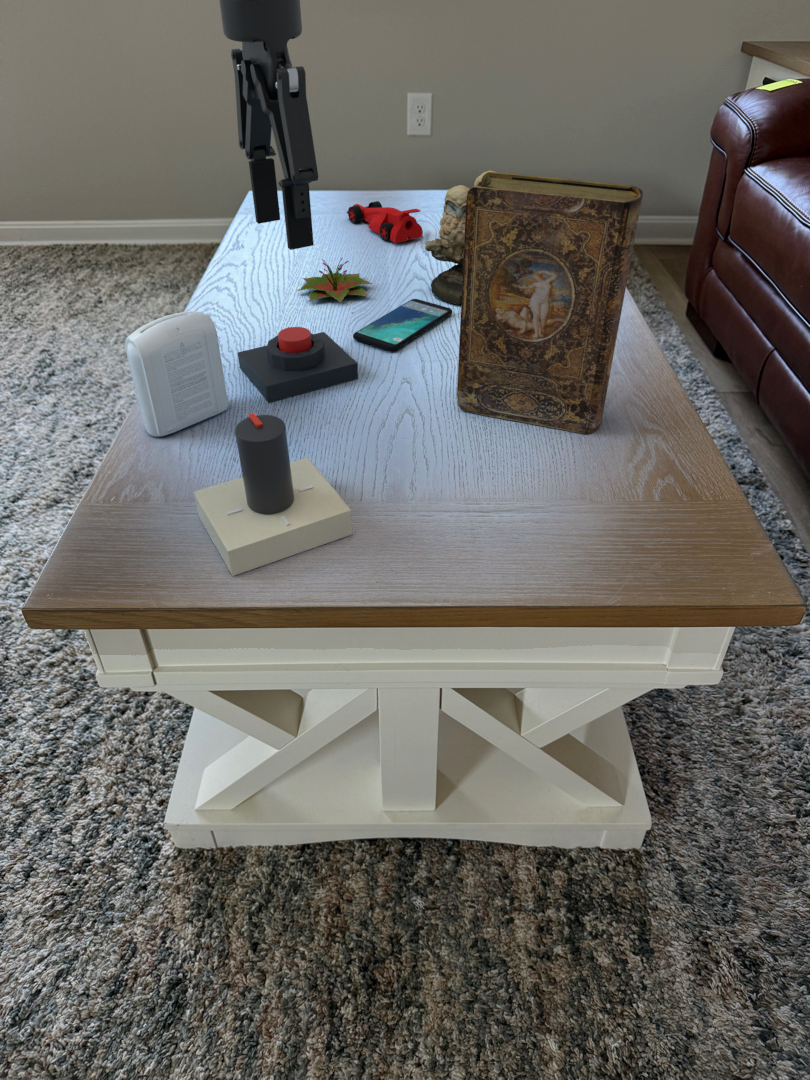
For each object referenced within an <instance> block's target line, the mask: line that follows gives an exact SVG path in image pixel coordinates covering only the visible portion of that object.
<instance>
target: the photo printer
mask: <svg viewBox="0 0 810 1080" xmlns="http://www.w3.org/2000/svg"><path fill="white" fill-rule="evenodd" d="M124 346H125V347H124V348H125V353H126V357H127V362H128V364H129V365H128V366H129V370H130V374H131V379H132V383H133V386H134V390H135V391H134V392H135V394H136V398H137V402H138V407H139V411H140V415H141V419H142V423H143V424H144V428H145V431H146V433H147V434H148V435H150V436H152V437H155V438H156V437H157V438H160V437H164V436H169V435H171V434H174V433H176V432H178V431H181V430H182V429H185V428H188V427H190V426H193V425H195V424H198V423H200V422H202V421H204V420H207V419H209V418H212V417H214V416H216V415H218V414H220V413H223V412H225V411H226V410H228V409H229V399H228V392H227V388H226V387H227V386H226V381H225V375H224V369H223V363H222V355H221V348H220V343H219V336H218V331H217V328H216V326H215V323H214V321H213V319H212V318H211V316H210V315H209V314H206V313H204V312H203V311H192V310H191V311H180V312H176V313H170V314H167V315H163V316H161V317H159V318H156V319H154V320H151V321H150V322H147V323H146V324H143V325H142V326H141V327H139V328H137V329H136V330H134V331H133V332H132V333H130V334H129V335H128V336H127V337H126V338H125V340H124Z"/></svg>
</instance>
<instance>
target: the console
mask: <svg viewBox="0 0 810 1080" xmlns="http://www.w3.org/2000/svg"><path fill="white" fill-rule="evenodd" d="M290 467H291V476H292V484H293V492H294V501H293V503H292V505H291V506H290V507H289V508H287V509H286V510H284V511H282V512H279V513H275V514H260V513H257V512H255V511H253V510H251V509H250V508H249V506H248V504H247V499H246V493H245V487H244V481H243V476H241V477H238V478H234V479H231V480H228V481H227V480H226V481H224V482H222V483H218V484H215V485H211V486H208V487H204V488H201V489H198V490H195V491H193V493H192V494H193V499H194V502H195V506H196V511H197V516H198V518H199V520H200V521H201V523H202V525H203V527H204V529H205V530H206V532H207V534H208V536H209V537H210V539H211V540H212V542H213V544H214V546H215V548H216V549H217V551H218V553H219V555H220V556H221V558H222V560H223V562H224V563H225V566H226V568H227V570H228V571H229V572H230V574H231V576H232V577H234V576H235V577H236V576H237V575H240V574H244V573H246V572H249V571H253V570H255V569H258V568H261V567H263V566H267V565H269V564H272V563H274V562H277V561H280V560H284V559H286V558H289V557H292V556H295V555H298V554H301V553H304V552H307V551H309V550H312V549H315V548H318V547H320V546H323V545H327V544H329V543H332V542H335V541H338V540H341V539H344V538H346V537H349V536H352V535H353V519H352V509H351V508H350V507H349V505H348V504H347V503H346V501H344V500H343V498H342V497H341V496H340V494H339V493H338V492H337V490H335V488H334V487H333V486H332V485H331V484H330V483H329V481H328V480H327V479H326V477H325V476H324V475H323V474H322V472H321V471H320V470H319V469H318V467H317V466H316V465H315V464H314V462H313V461H312V460H311V459H310V458H309V457H308V456H307V457H305V458H301V459H298V460H294V461H290Z"/></svg>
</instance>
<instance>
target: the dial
mask: <svg viewBox="0 0 810 1080" xmlns="http://www.w3.org/2000/svg"><path fill="white" fill-rule="evenodd" d="M286 427H287V426H286V423H285V421H284V420H283V419H281V418H280V417H277V416H274V415H270V414H258V415H256V413H255V412H252V413H248V417H246V418H244V419H242V420H241V421H240V422H238V423H237V424H236V426H235V429H234V434H235V438H236V439H235V440H236V446H237V451H238V455H239V456H238V458H239V463H240V464H239V465H240V469H241V475H242V477H243V481H244V487H245V493H246V499H247V504H248V506H249V508H250V509H251V510H253V511H255V512H257V513H260V514H275V513H279V512H282V511H284V510H286V509H287V508H289V507H290V506H291V505H292V503H293V501H294V492H293V484H292V476H291V467H290V462H291V460H290V459H291V458H290V451H289V444H288V435H287V428H286Z"/></svg>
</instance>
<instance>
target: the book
mask: <svg viewBox="0 0 810 1080" xmlns="http://www.w3.org/2000/svg"><path fill="white" fill-rule="evenodd" d="M643 195H644V191H643V190H642V188H639V187H638V186H635V185H633V184H632V185H630V184H621V183H610V182H601V181H590V180H579V179H570V178H558V177H550V176H549V177H548V176H538V175H528V174H516V173H507V172H497V171H495V172H487V173H485V174H484V175H483V177H482V181H481V186H474V185H473V186H472V187H469V191H468V193H467V201H466V219H465V240H464V260H463V281H462V296H461V303H460V325H459V344H458V346H459V347H458V367H457V383H456V384H457V387H456V388H457V389H456V398H457V406H458V408H459V409H460V410H461V411H462V412H467V413H471V414H476V415H480V416H484V417H490V418H495V419H500V420H506V421H510V422H516V423H521V424H527V425H532V426H533V425H534V426H539V427H544V428H548V429H549V428H550V429H554V430H560V431H565V432H566V431H567V432H572V433H575V434H576V433H577V434H582V435H590V434H593V433H595V432H596V431H598V430H599V429H600V427H601V425H602V421H603V415H604V410H605V403H606V399H607V394H608V388H609V383H610V377H611V371H612V365H613V361H614V355H615V349H616V344H617V339H618V332H619V328H620V327H619V326H620V321H621V316H622V311H623V305H624V301H625V296H626V295H625V294H626V288H627V283H628V278H629V272H630V266H631V261H632V257H633V251H634V245H635V239H636V234H637V228H638V223H639V217H640V216H639V215H640V211H641V207H642V202H643V201H642V200H643V197H644V196H643Z"/></svg>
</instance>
